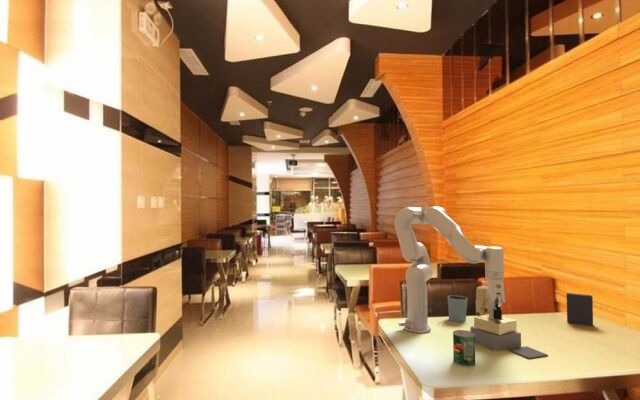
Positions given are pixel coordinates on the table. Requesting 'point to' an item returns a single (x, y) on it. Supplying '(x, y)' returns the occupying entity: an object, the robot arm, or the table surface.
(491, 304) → the light grey tall block
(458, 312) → the blue-grey cup
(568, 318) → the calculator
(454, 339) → the canned tomato
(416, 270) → the robot arm
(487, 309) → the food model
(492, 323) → the wooden block with hole
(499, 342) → the grey square block
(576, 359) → the table surface
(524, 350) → the pad
